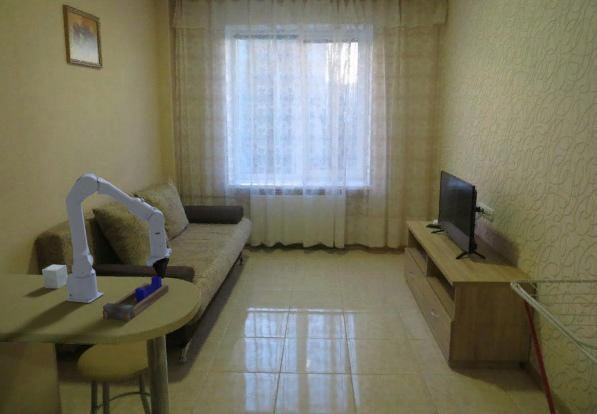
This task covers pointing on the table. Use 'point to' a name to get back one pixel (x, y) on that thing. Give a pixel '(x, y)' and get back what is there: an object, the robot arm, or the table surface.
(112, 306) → the cable track
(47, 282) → the skincare box
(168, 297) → the table surface
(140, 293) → the cable clip
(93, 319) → the table surface
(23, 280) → the table surface
